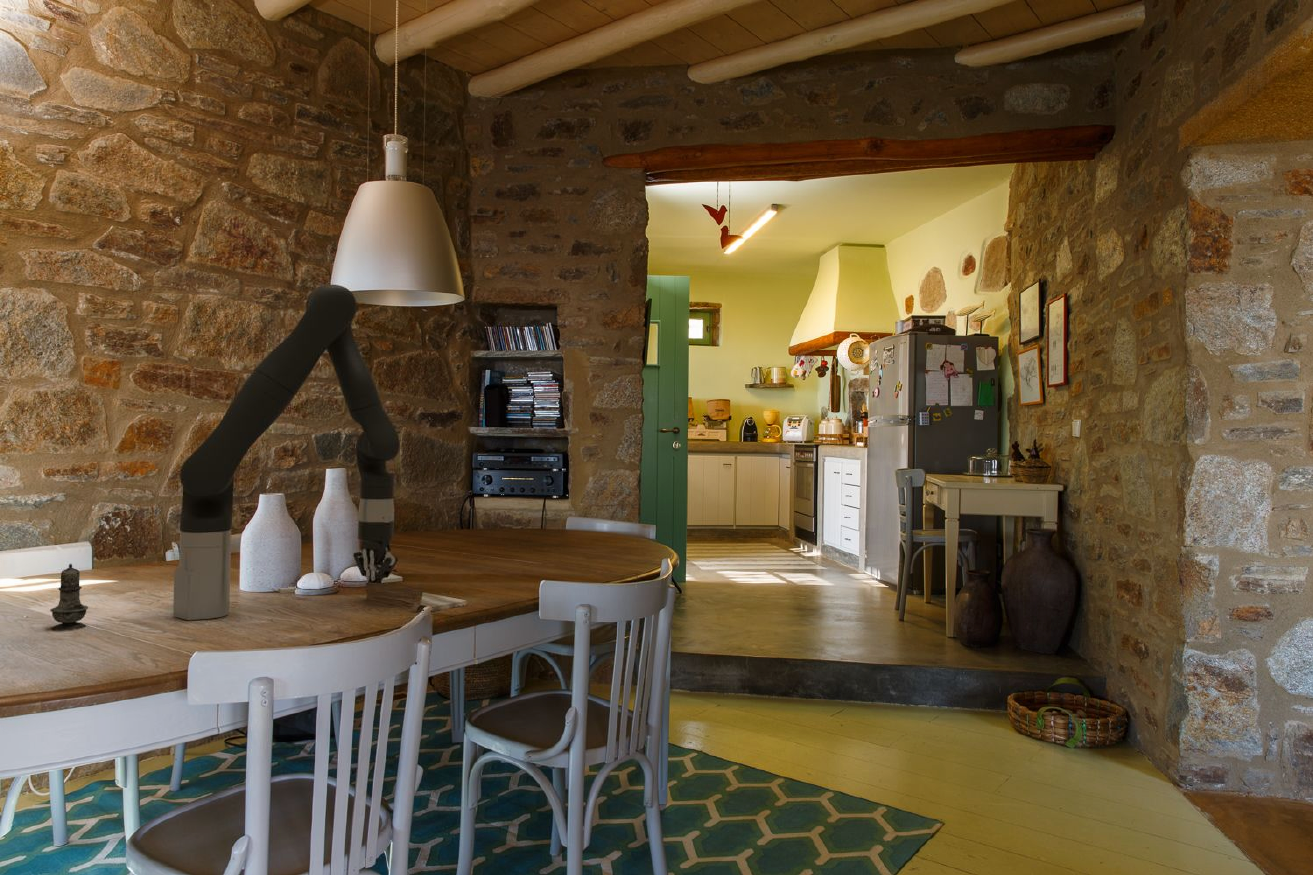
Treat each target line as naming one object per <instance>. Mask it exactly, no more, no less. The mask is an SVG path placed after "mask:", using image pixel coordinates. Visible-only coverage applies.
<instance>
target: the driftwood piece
mask: <svg viewBox="0 0 1313 875" xmlns="http://www.w3.org/2000/svg"><path fill="white" fill-rule="evenodd" d="M365 583H366V585H365V590H366V591H365V592H366V597H365V598H366V602H365V604H366V605H370V604H372V606H379V607H385V608H386V607H387V608H395V609H399V610H405V611H406V612H410V613H417V610H418V609H417V608H418V607H419V606H420V603H421V599H422V594H423V593H424V590H423V588H420V587H419V588H418V587H411V586H405V585H397V584H391V583H390V584H389V583H381V584H380V583H369V582H365Z"/></svg>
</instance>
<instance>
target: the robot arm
mask: <svg viewBox="0 0 1313 875" xmlns="http://www.w3.org/2000/svg"><path fill="white" fill-rule="evenodd" d="M357 306H358V305H357V300H356V298H355V296H354V294H353V292H351V291H350V290H349V289H348V288H347V287H345V286H343V285H339V284H325V285H321V286H318V287H316V288H314V289H312V290H311V291H310V293H309V295H308V296H307V298H306V303H305V312H304V314H303V315H302V317H301V318H300V320H299V321H298V323H297V325H296V326H295V327H294V329H293V330H291V332H290V333H289V334H288V335H287V337H286V338H284V339H283V340H282V341H281V342H280V343H279V344H278V345H277V346H276V347H275V348H274V349H272V351H270V352H269V353H268V354H267V355H266V356H265V357H264V358H263V359H262V361H260V363H258V365H257V366H256V367H255V369H254V370H253V372H251V374H250V375H249V377H248V378H247V379H246V380H245V382H244V383H243V384H242V386H241V388H240V389H239V391H238V392H237V394H236V395H235V397H234V399H233V400H232V402H231V403H230V405H229V407H228V409H227V410H226V412H225V413H224V415H223V417H222V418H221V420H220V422H219V424H218V425H217V426H216V427H215V428H214V430H213V431H212V432H211V433H210V435H209V436H208V437H206V439H205V440H204V441H203V442H202V443H201V444H200V446H198V448H196V449H195V451H194V452H193V453H192V454H190V455H189V456H188V457H187V458H186V459H185V460H184V461H183V464H182V465H181V467H180V470H179V480H180V484H181V485H182V496H181V497H182V498H181V501H182V502H181V504H182V505H181V511H180V518H179V548H178V549H179V553H178V554H179V555H178V557H179V558H178V561H179V562H178V568H177V567H176V568H175V569H174V572H173V574H174V575H173V609H172V611H173V612H172V614H173V615H172V617H175V618H178V619H181V620H186V621H195V620H210V619H217V618H222V617H226V616H228V615H229V614H230V606H231V602H230V600H231V599H230V598H231V596H230V592H231V560H232V559H231V558H232V557H231V555H232V554H231V553H232V521H233V511H234V507H233V506H234V505H233V504H234V481H235V478H234V476H235V475H234V474H235V472H236V471H237V469H238V467H239V466H240V464H241V462H242V461H243V459H244V457H245V456H246V455H247V453H248V452H249V450H250V449H251V447H252V446H253V445H254V443H255V442H256V441H257V440H258V439H259V438H260V437H261V436H262V435H263V434H264V433H265V432H266V431H267V430H268V429H269V428H270V427H271V426H272V425H273V424H274V423H275V422H276V420H277V419H278V418H279V417H280V416H281V415H282V414H283V413H284V411H285V410H286V409H287V408H288V406H289V405H290V403H291V402H292V401H293V399H294V398H295V397H296V395H297V394H298V392H299V391H300V389H301V387H302V386H303V385H304V384H305V382H306V380H307V379H308V377H309V376H310V374H311V373H312V371H313V369H314V368H315V366H316V364H317V363H318V362H319V360H320V358H321V357H322V355H323V354H325V351H327V353H328V355H329V358H330V361H331V363H332V365H333V368H334V372H335V375H336V377H337V380H338V383H339V386H340V391H341V392H342V395H343V396H342V397H343V399H344V402H345V404H346V407H347V410H348V412H349V415H350V417H351V419H352V420H353V421H354V422H355V423H357V424H359V425H360V427H361V429H362V430H363V431H362V432H361V433H360V434H359V436H358V438H357V440H356V443H355V444H356V445H355V456H356V461H357V462H356V463H357V467H358V472H359V473H358V474H359V476H360V492H359V497H360V499H359V503H358V504H359V505H358V518H357V519H358V521H357V522H358V523H357V524H358V525H357V527H358V528H357V539H358V540H359V541H361V544H360V549H359V551H358V552H353V553H352V554H353V558H354V561H355V562H356V563H355V564H356V566H357V568H358V571H359V572H360V576H365V577H366V579H367V580H368V582H369V583H380V584H382V583H381V581H382V579H383V578H388V576H389V575H390V574H392V572H393V570H394V568H395V566H396V565H397V563H398V560H399V559H398V558H399V557H397V556H393V554H392V553H391V552H392V548H391V545H390V542H391V541H392V540H394V536H395V535H394V530H395V524H394V523H395V505H394V487H395V484H394V483H395V482H394V477H393V474H392V473H391V472H389V471H388V470H387V462H388V461H391V460H393V459H395V458H396V457H397V455H398V454H399V453H400V448H401V443H400V442H401V441H400V437H399V434H398V432H397V430H396V428H395V426H394V424H393V422H392V421H391V419H390V417H389V415H388V414H387V412H386V411H385V409H384V408H383V404H382V402H381V398H380V395H379V392H378V388H377V386H376V384H375V381H374V377H373V376H372V374H371V372H370V369H369V367H368V366H367V365H366V362H365V361H364V358H363V357H362V355H361V352H360V350H359V348H358V346H357V341H356V339H355V337H354V332H353V328H352V322H353V320H354V319H355V317H356V314H357V309H358V307H357Z"/></svg>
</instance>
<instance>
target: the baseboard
mask: <svg viewBox="0 0 1313 875" xmlns="http://www.w3.org/2000/svg"><path fill="white" fill-rule="evenodd" d="M392 572H395V573H397V574H399V575H401V576H399V575H396V574H393V573H390V575H389V576H388V578H383V579H382V581H381V584H387V583H393V582H394V583H395V582H403V573H399V572H397V569H393V570H392ZM335 583H337V582H335ZM337 585H338V584H337ZM295 590H296V586H295V587H288V588H281V589H278V592H277V593H279V594H287V593H296V592H295Z"/></svg>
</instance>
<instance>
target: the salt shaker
mask: <svg viewBox="0 0 1313 875" xmlns="http://www.w3.org/2000/svg"><path fill="white" fill-rule="evenodd" d="M73 566H74V565H72V563H69V565H68V567H67V568H65V569H63V570H62V571H61V572H60V587H58V588H57V590H58V591H59V602H58V605H57V606H55V607H53V608H51V609H50V610H49V611H50V612H51V613H52V614H51V615H52V617H53V619H54V621H55V622H57V623H59V624H56V625H54V626H53V627H51V630H52V629H53V630H52V631H57V632H58V631H61V632H64V631H65V630H68V631H74V630H73V629H76V630H79V629H78V628H81V629H83V628H82V627H84V628H86V627H87V624H84V623H83V622H79V621H81V620H82V619H83V618H84V617H85V615H86V614H87V610H88V609H89V606H87V605H84V604H82V603H81V600H80V596H81V595H80V592H81V589H82V588H83V587H82V586H80V570H78V569H77V568H74V567H73ZM85 626H86V627H85Z"/></svg>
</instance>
